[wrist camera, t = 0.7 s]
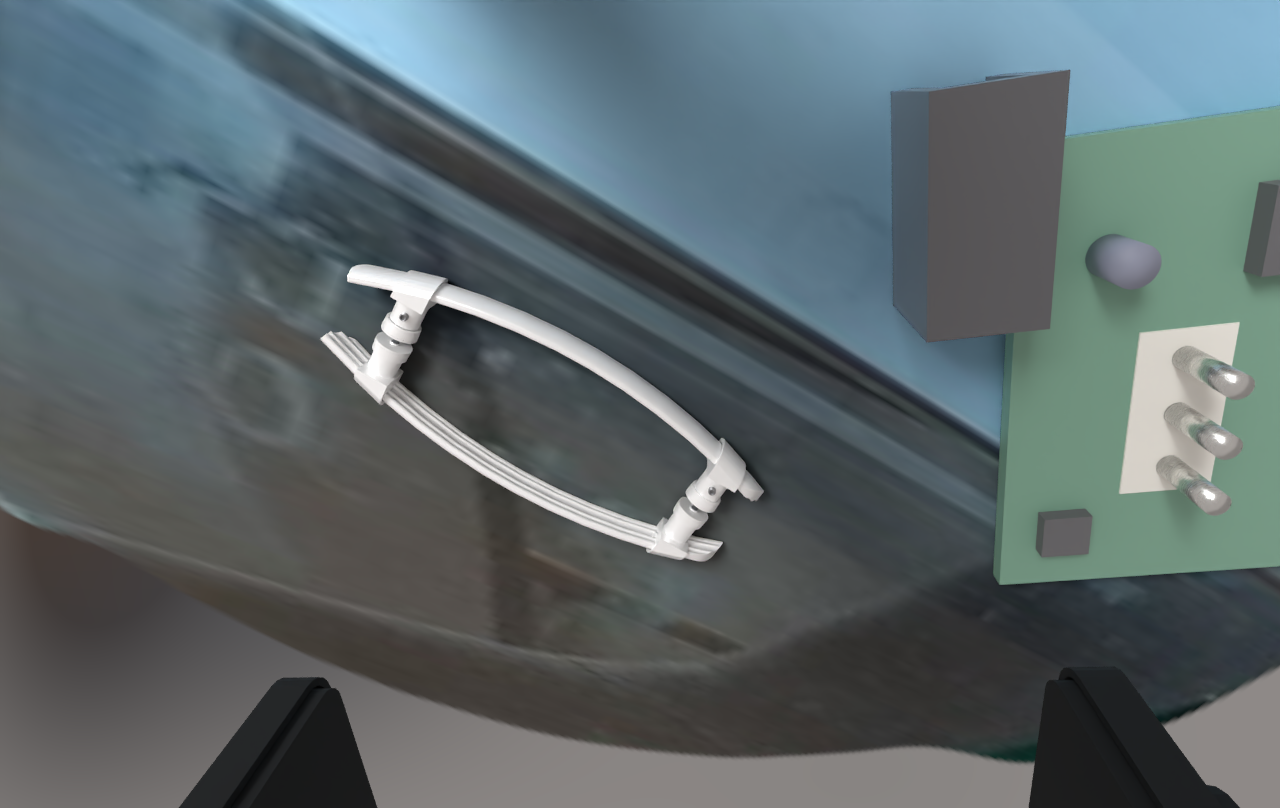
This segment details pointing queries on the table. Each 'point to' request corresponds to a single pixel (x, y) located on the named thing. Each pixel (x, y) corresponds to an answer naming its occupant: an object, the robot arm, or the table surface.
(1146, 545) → the board
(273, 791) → the robot arm
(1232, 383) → the pins
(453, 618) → the table surface
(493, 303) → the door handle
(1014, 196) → the block
